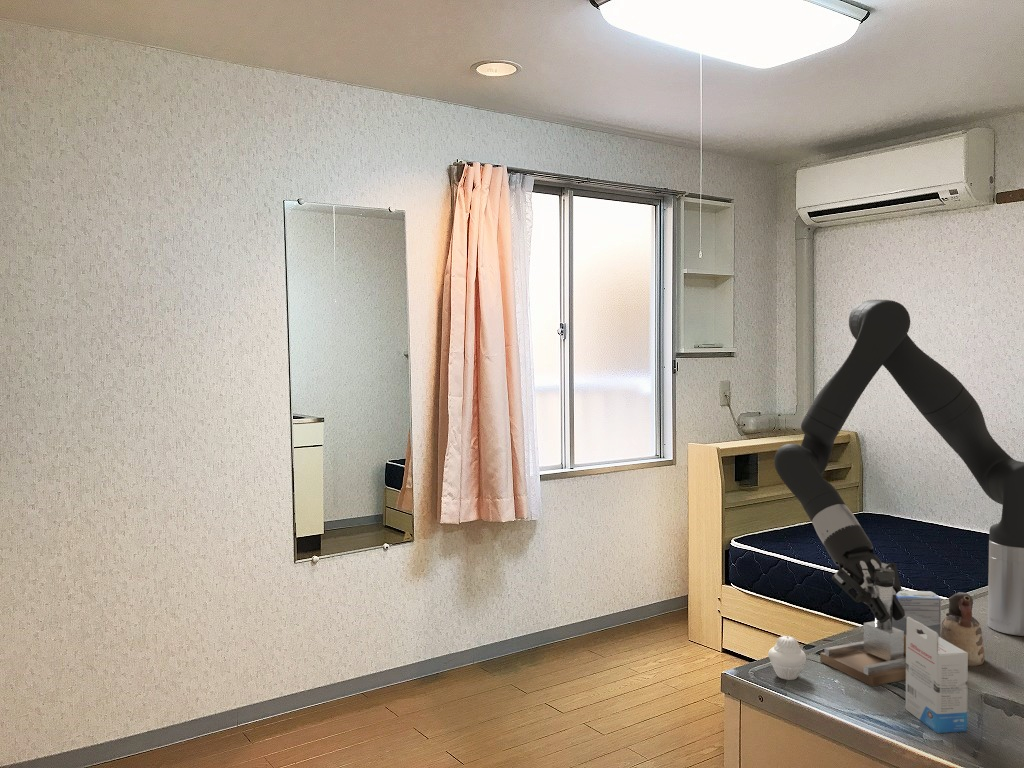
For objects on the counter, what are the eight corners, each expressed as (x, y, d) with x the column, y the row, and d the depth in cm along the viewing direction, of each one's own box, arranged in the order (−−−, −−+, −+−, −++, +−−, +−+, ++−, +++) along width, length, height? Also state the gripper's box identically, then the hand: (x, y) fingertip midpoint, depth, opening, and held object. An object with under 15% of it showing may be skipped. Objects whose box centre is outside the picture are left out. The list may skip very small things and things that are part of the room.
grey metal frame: (898, 640, 154) (898, 608, 153) (944, 659, 144) (945, 625, 144) (824, 654, 147) (824, 621, 147) (868, 675, 138) (868, 639, 138)
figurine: (980, 653, 151) (981, 588, 150) (988, 668, 144) (989, 600, 144) (936, 649, 153) (937, 585, 153) (942, 663, 147) (943, 596, 146)
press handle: (876, 648, 149) (877, 565, 148) (903, 659, 143) (905, 573, 143) (863, 650, 148) (863, 567, 147) (889, 662, 142) (891, 576, 142)
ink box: (968, 732, 121) (970, 632, 120) (936, 734, 120) (938, 633, 119) (934, 707, 129) (935, 613, 128) (903, 708, 129) (905, 614, 128)
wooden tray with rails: (896, 646, 155) (896, 619, 155) (951, 669, 144) (952, 640, 144) (820, 661, 148) (820, 633, 148) (872, 686, 137) (873, 656, 137)
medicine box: (931, 634, 161) (932, 590, 161) (941, 643, 157) (942, 597, 156) (889, 633, 162) (890, 589, 162) (897, 641, 158) (898, 596, 157)
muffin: (807, 672, 143) (808, 632, 143) (804, 686, 137) (804, 644, 137) (770, 667, 146) (770, 627, 145) (765, 679, 140) (765, 639, 140)
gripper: (822, 526, 149) (874, 613, 138) (881, 520, 154) (936, 603, 143) (801, 549, 154) (850, 635, 143) (859, 542, 159) (910, 624, 149)
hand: (893, 618), depth 143 cm, fingers closed on press handle, 3 cm apart
